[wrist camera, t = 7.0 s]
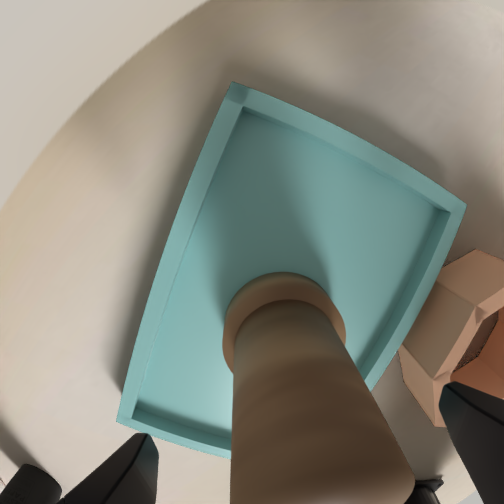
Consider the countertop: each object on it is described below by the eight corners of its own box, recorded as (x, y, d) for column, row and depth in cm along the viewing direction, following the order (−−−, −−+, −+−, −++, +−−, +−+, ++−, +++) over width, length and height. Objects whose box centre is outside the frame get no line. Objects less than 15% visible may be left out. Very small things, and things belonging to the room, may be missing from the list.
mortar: (523, 283, 16) (565, 305, 12) (461, 394, 18) (491, 429, 14) (446, 230, 15) (500, 249, 11) (371, 374, 17) (399, 423, 12)
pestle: (352, 294, 14) (474, 445, 5) (304, 380, 16) (351, 550, 6) (249, 254, 14) (266, 422, 4) (208, 350, 15) (180, 539, 5)
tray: (445, 200, 15) (467, 204, 13) (301, 451, 18) (306, 472, 16) (233, 93, 13) (231, 81, 11) (125, 400, 17) (115, 421, 15)
